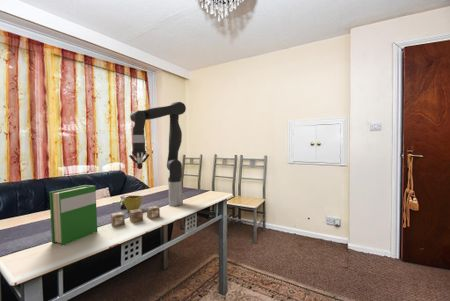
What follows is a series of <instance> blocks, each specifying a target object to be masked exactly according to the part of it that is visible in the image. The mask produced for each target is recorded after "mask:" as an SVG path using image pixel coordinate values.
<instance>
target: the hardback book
mask: <svg viewBox="0 0 450 301" xmlns="http://www.w3.org/2000/svg"><path fill="white" fill-rule="evenodd" d="M96 187H97V186H96V185H93V184H92V185H89V184H83V185H79V186H73V187H70V188H69V187H67V188H64V189H63V188H62V189H59V190H53V191H52V190H51V191H49V194H48V195H49V208H50V210H49V211H50V212H49V213H50V228H51V244H52V243H54V244H57V243H58V244H61V245H64V246H66V245H68V244H70V242H71V243H73V242H75V240H76V241H78V240H81V239H83V238H85V237H88V236H89V235H92V234H95V233H97V232H98V220H97V219H98V218H97V217H98V214H97V213H98V212H97V191H96ZM94 232H95V233H94ZM82 237H83V238H82ZM77 239H78V240H77ZM72 241H73V242H72ZM56 242H57V243H56ZM67 243H68V244H67ZM65 244H66V245H65Z"/></svg>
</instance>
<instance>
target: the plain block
mask: <svg viewBox="0 0 450 301" xmlns="http://www.w3.org/2000/svg"><path fill="white" fill-rule="evenodd" d="M143 213H144V212H143V210H142V208H139V209H135V210H130V211H129V221H130V223H132V224H134V223H139V222H143V221H144V214H143Z"/></svg>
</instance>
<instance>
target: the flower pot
mask: <svg viewBox="0 0 450 301" xmlns="http://www.w3.org/2000/svg"><path fill="white" fill-rule="evenodd" d="M142 198H143V196H142V195H129V196H126V197H125V198H123V201H124V206H125V208H126V210H127V211H129V212H130V210H135V209H140V207H141V206H142V205H141V204H142Z"/></svg>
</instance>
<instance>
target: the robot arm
mask: <svg viewBox="0 0 450 301" xmlns="http://www.w3.org/2000/svg"><path fill="white" fill-rule="evenodd" d="M186 107H187V106H186V105H185V103H184V102H181V101H177V102H176V101H175V102H172V103H171V104H170V105H165V106H157V107H151V108H147V109H144V110H140V109H139V110H135V111H133V112H131V114H130V115H129V118H130V120H131V121H132V122H134V125H133V127H132V152H131V153H130V154H129V155H128V157H129V158H130V160H131V161H132V162H133V163H136V168H137V169H138V170H142V169H143V163H145V162H146V161H147V159H148V158H149V157H150V153H149V154H148V153H147V151H146V138H145V126H146V121H148V120H153V119H158V118H162V117H166V116H169V128H168V129H169V131H168V153H167V155H168V156H167V159H166V160H167V162H166V168H167V170H168V171H169V176H168V179H167V180H168V184H167V185H168V205H169V206H170V207H177V206H178V207H179V206H181V205H183V204H184V198H183V197H184V194H183V193H184V192H183V191H182V177H183V165H182V162H181V160H179V151H180V148H181V145H182V141H183V140H182V139H183V132H182V129H181V126H180V124H179V118H180V116H181V115H183V114H184V113H185V112H186V110H187V108H186Z"/></svg>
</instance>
